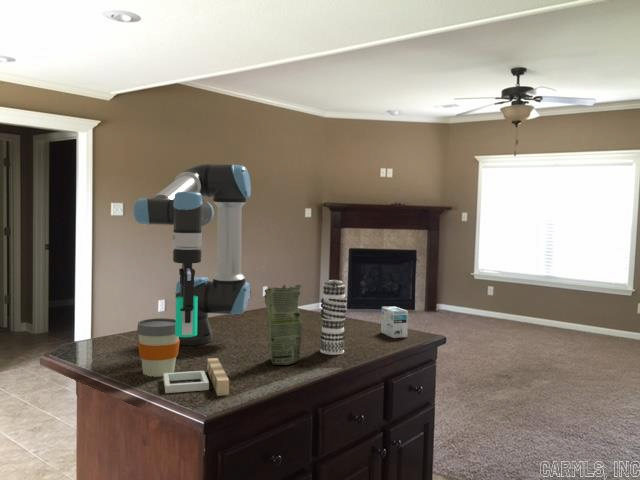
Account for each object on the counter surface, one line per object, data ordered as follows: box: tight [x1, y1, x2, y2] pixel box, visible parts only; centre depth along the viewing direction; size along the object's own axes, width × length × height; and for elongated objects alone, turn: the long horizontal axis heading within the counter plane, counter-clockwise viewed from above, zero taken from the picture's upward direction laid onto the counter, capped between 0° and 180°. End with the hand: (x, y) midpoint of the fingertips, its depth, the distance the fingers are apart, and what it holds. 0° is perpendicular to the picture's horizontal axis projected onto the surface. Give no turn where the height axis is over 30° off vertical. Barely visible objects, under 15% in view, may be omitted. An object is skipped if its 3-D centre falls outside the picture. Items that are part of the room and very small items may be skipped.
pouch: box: [264, 284, 303, 366], centre depth 180 cm, size 11×12×25 cm
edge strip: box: [206, 357, 230, 397], centre depth 157 cm, size 22×3×4 cm, turn 18°
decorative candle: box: [319, 279, 348, 356], centre depth 194 cm, size 9×9×25 cm
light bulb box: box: [380, 305, 409, 339], centre depth 223 cm, size 11×7×11 cm, turn 22°
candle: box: [175, 296, 198, 337], centre depth 153 cm, size 6×6×12 cm
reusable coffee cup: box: [136, 317, 180, 378], centre depth 165 cm, size 13×13×15 cm
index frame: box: [162, 370, 210, 394], centre depth 154 cm, size 11×11×2 cm
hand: (186, 331), depth 153 cm, fingers closed on candle, 5 cm apart
